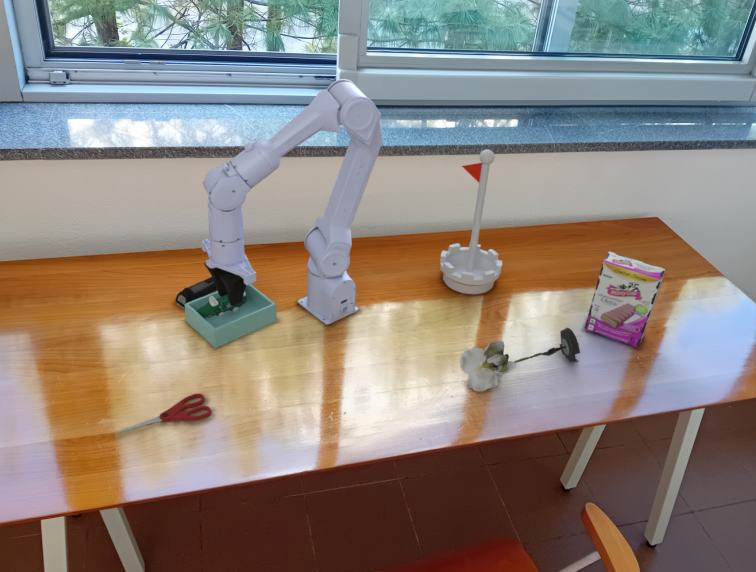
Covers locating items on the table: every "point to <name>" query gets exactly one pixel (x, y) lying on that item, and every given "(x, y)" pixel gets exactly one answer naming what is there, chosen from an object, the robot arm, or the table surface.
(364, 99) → the robot arm
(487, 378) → the artificial flower
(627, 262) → the candy bar box
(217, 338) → the tub
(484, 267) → the flag stand
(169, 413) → the scissors
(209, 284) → the electric trimmer
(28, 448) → the table surface
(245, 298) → the gaming controller
